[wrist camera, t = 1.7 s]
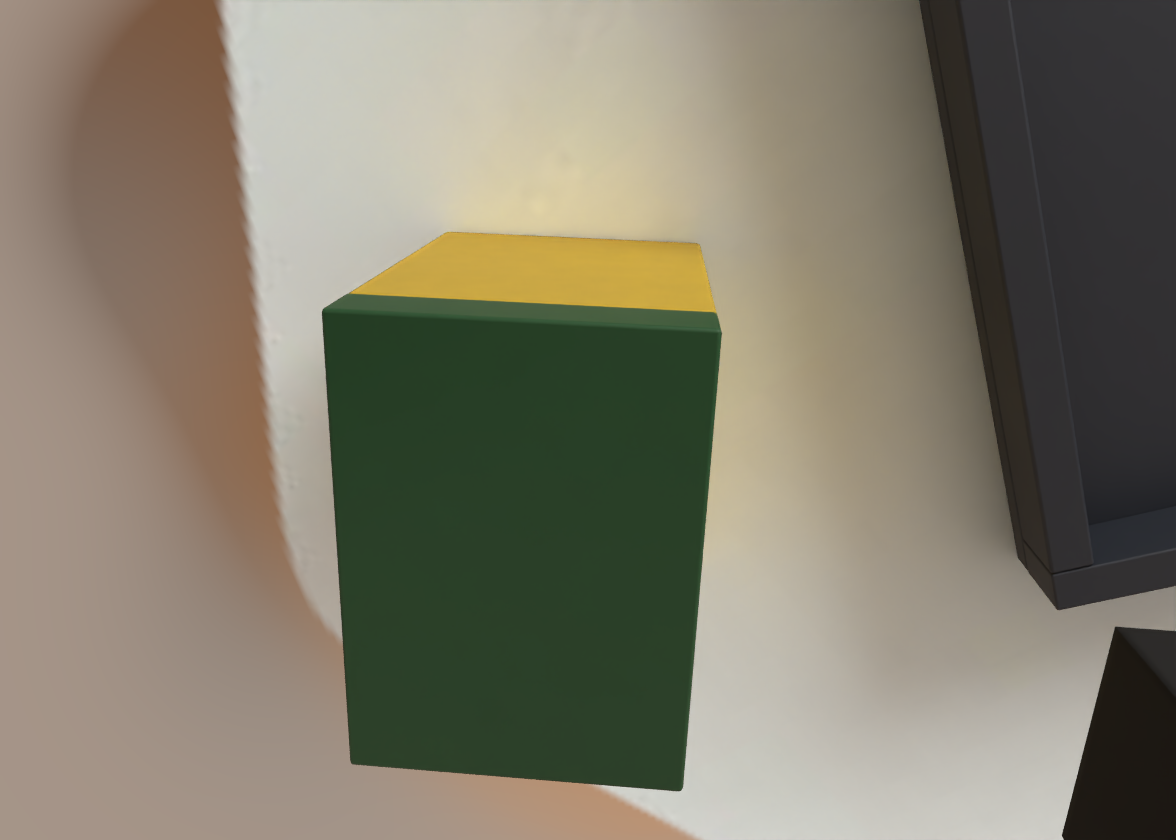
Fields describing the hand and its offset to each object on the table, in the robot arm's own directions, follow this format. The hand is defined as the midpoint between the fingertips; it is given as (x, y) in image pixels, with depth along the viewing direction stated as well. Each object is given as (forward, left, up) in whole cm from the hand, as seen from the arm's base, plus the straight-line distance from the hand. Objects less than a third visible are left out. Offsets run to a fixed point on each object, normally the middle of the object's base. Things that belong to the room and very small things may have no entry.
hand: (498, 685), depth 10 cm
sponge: (0, 0, -9) cm, 9 cm away
